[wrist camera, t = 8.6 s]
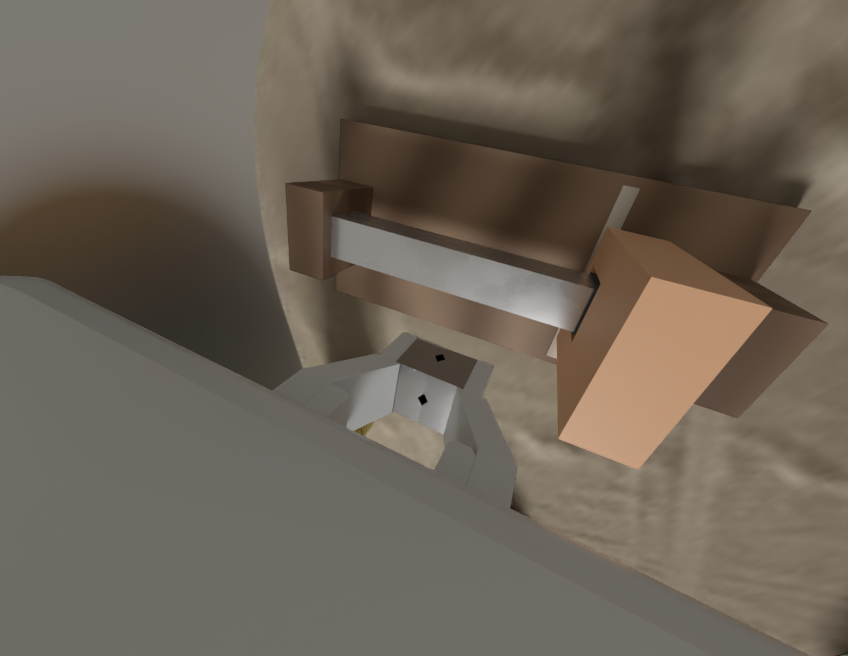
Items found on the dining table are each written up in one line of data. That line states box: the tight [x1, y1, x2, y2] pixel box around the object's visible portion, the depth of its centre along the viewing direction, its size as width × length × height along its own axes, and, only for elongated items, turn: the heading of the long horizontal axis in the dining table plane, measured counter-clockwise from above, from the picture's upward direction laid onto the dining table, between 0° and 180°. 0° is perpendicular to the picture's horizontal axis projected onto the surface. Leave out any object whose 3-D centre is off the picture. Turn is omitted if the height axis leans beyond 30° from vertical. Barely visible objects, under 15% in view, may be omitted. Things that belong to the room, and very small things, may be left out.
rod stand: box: [285, 119, 828, 418], centre depth 18 cm, size 25×12×6 cm, turn 80°
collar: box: [557, 227, 773, 469], centre depth 14 cm, size 3×7×9 cm, turn 170°
